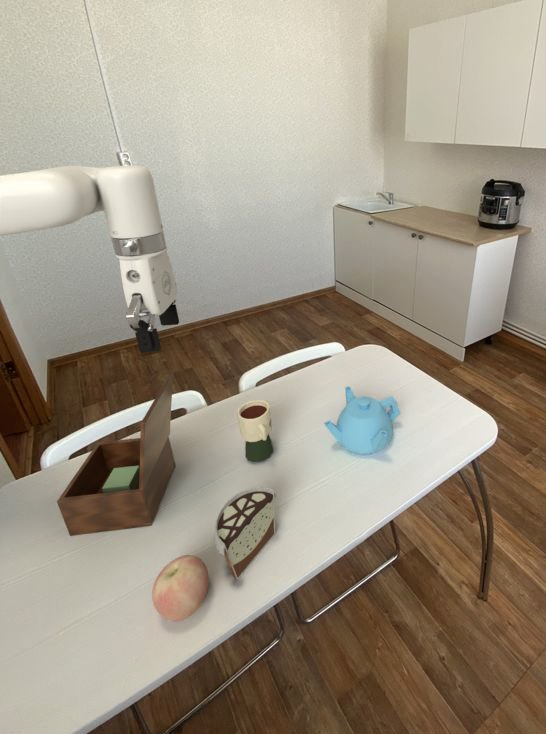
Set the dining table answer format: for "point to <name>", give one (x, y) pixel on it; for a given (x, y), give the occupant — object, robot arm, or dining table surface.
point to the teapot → (364, 423)
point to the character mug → (256, 429)
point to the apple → (180, 588)
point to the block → (122, 479)
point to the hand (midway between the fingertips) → (161, 336)
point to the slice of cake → (245, 527)
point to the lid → (155, 431)
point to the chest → (114, 509)
